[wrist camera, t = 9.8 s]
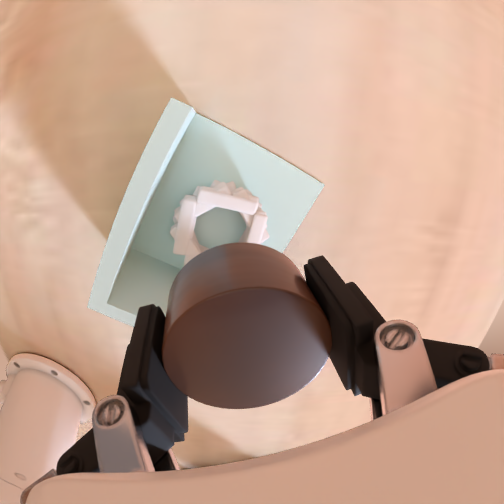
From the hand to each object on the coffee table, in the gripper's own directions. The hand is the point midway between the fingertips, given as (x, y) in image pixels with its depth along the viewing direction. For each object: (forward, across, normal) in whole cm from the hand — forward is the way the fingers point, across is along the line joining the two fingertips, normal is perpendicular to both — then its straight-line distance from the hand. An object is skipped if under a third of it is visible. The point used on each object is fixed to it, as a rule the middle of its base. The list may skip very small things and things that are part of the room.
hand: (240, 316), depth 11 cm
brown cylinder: (+1, 0, 0) cm, 1 cm away
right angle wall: (+12, 0, 0) cm, 12 cm away
